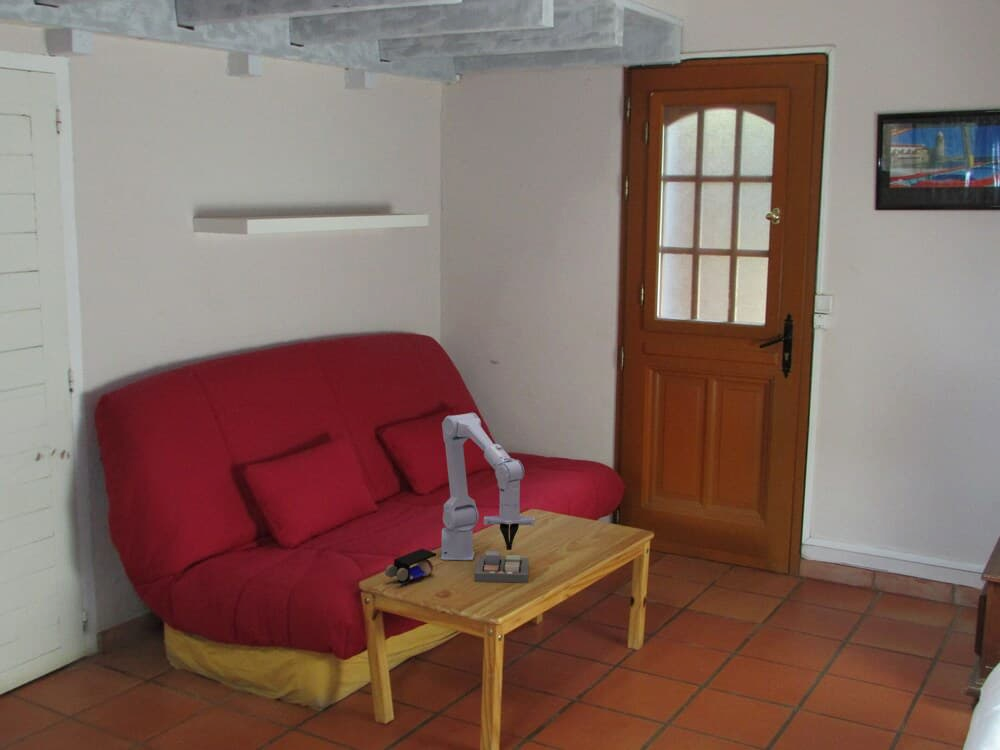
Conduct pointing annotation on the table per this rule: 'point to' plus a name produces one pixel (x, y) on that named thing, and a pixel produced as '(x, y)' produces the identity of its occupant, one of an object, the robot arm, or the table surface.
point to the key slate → (492, 558)
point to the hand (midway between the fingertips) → (509, 548)
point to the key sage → (513, 558)
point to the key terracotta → (491, 568)
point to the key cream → (511, 566)
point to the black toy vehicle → (404, 562)
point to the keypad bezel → (502, 572)
